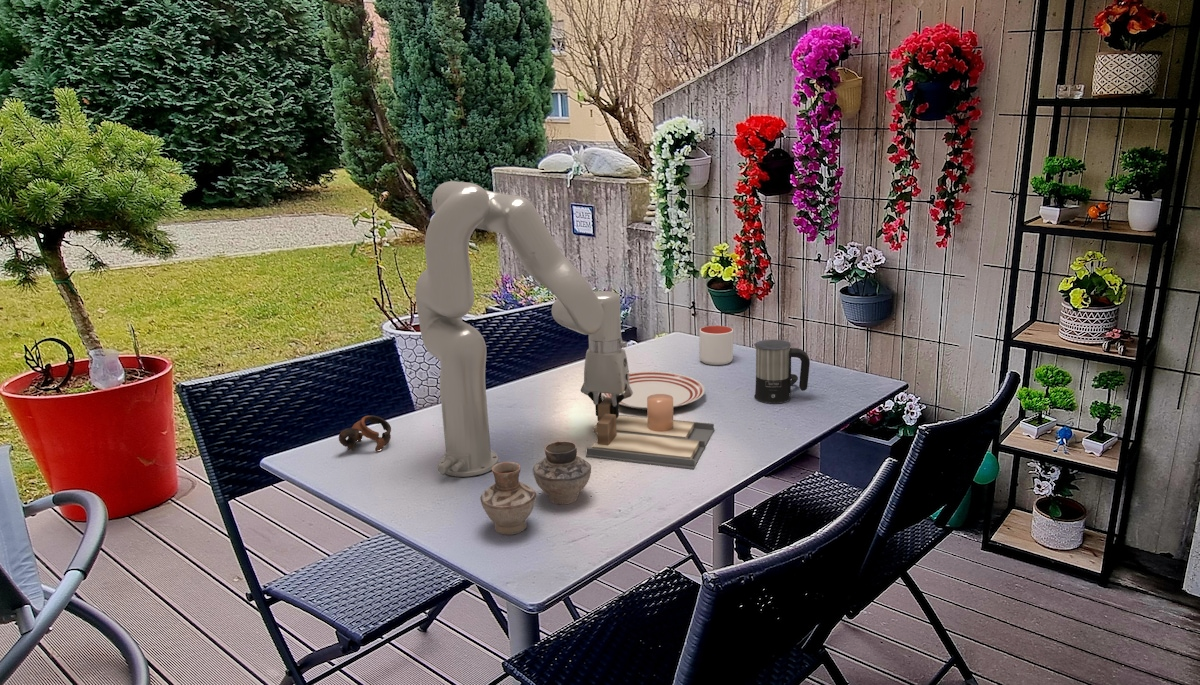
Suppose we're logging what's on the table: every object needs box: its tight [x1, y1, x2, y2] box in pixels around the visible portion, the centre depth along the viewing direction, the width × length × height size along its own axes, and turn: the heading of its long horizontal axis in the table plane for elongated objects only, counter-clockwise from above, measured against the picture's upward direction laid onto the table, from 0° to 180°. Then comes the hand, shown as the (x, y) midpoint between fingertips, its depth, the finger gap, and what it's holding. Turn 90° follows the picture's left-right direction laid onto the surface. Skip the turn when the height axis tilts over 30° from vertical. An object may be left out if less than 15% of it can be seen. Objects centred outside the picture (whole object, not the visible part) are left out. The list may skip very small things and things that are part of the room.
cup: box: [698, 325, 734, 366], centre depth 233 cm, size 10×10×10 cm
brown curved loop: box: [338, 414, 392, 452], centre depth 177 cm, size 12×10×8 cm
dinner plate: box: [602, 370, 706, 411], centre depth 205 cm, size 28×27×3 cm
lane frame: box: [585, 414, 715, 470], centre depth 176 cm, size 22×24×2 cm
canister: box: [646, 394, 674, 432], centre depth 179 cm, size 6×6×7 cm
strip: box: [591, 414, 699, 459], centre depth 170 cm, size 9×22×6 cm, turn 71°
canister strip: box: [592, 397, 695, 439], centre depth 181 cm, size 9×22×6 cm, turn 71°
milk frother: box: [753, 339, 811, 405], centre depth 203 cm, size 14×16×15 cm
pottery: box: [479, 440, 592, 536], centre depth 145 cm, size 11×25×12 cm, turn 141°
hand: (607, 418), depth 184 cm, fingers closed on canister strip, 2 cm apart
